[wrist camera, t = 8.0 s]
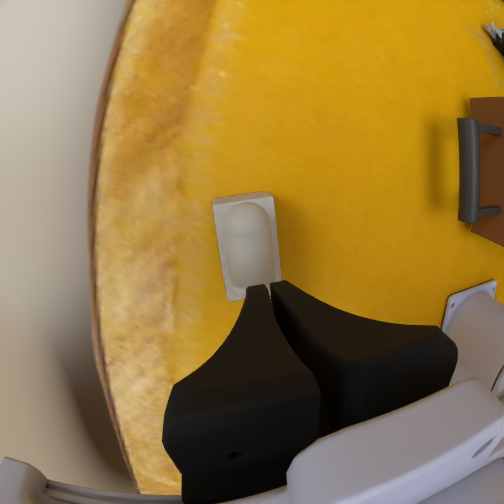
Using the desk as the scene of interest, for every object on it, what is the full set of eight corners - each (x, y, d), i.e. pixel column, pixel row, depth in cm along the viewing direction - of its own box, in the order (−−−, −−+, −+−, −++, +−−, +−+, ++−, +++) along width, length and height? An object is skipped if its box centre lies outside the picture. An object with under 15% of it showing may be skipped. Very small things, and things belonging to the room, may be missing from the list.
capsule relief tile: (275, 278, 20) (288, 304, 17) (226, 286, 20) (229, 314, 17) (267, 190, 18) (279, 200, 15) (212, 198, 18) (211, 210, 15)
